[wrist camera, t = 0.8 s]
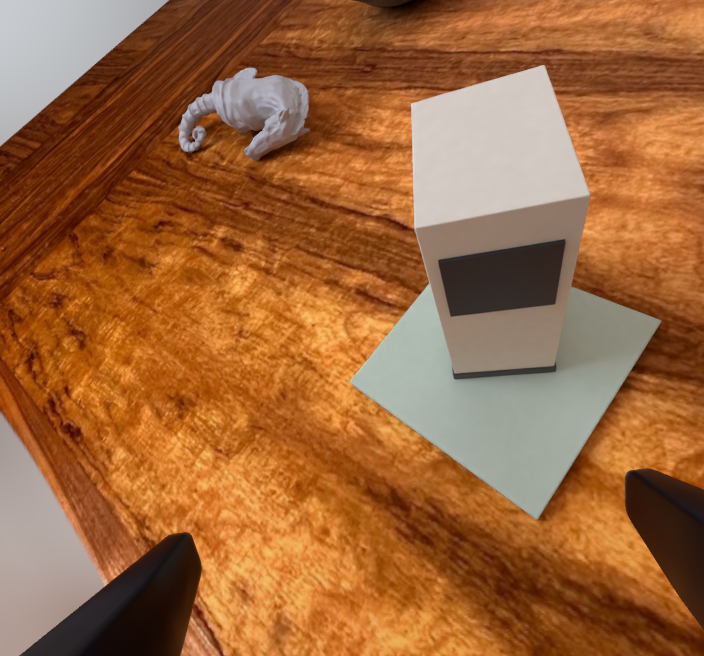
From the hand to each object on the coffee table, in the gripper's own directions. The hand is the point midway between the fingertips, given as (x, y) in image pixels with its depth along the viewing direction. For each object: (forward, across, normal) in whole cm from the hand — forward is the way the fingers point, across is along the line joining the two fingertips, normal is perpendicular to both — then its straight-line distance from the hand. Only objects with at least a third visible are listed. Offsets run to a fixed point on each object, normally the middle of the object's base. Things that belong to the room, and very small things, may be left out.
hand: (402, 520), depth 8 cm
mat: (+15, -6, +3) cm, 16 cm away
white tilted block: (+16, -7, +1) cm, 17 cm away
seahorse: (+42, +11, -18) cm, 47 cm away
